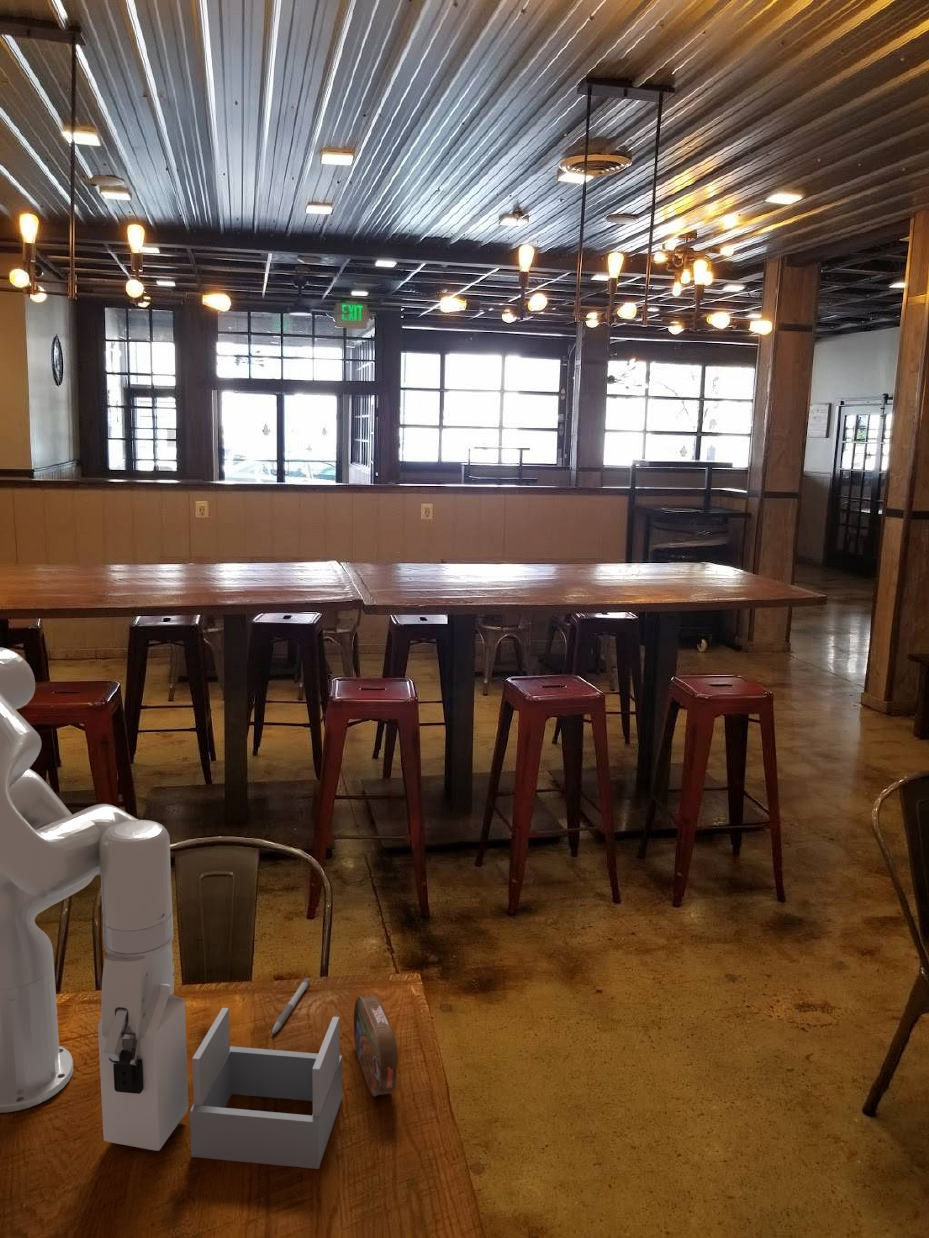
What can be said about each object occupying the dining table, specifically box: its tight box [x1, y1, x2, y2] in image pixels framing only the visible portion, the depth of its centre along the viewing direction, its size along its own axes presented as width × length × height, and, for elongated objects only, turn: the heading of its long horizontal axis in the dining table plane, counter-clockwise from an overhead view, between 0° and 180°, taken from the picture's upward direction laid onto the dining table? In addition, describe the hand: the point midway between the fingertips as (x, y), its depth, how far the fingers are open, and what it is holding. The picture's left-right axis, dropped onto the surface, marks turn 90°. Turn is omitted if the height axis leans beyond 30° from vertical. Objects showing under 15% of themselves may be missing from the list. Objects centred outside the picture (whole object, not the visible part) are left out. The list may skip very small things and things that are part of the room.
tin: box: [353, 995, 399, 1097], centre depth 126 cm, size 15×3×8 cm, turn 18°
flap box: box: [189, 1007, 343, 1170], centre depth 115 cm, size 15×12×12 cm
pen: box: [271, 977, 310, 1034], centre depth 140 cm, size 1×14×1 cm, turn 168°
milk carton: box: [97, 984, 189, 1152], centre depth 113 cm, size 7×7×19 cm
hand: (144, 1066), depth 113 cm, fingers closed on milk carton, 7 cm apart
